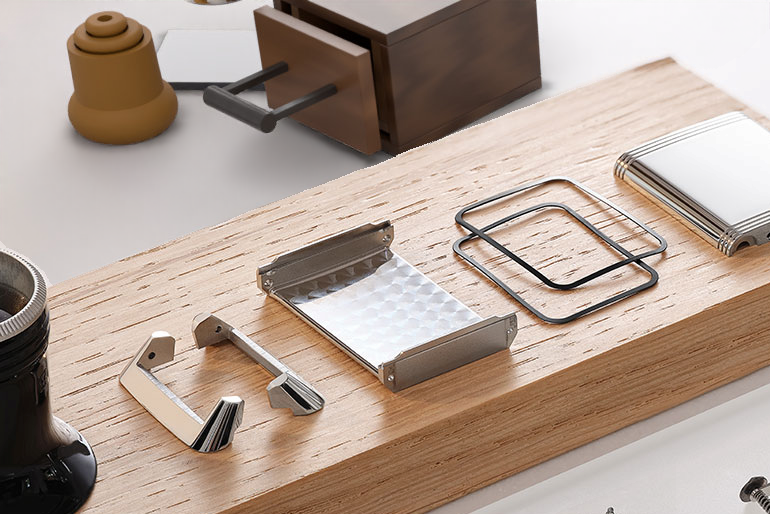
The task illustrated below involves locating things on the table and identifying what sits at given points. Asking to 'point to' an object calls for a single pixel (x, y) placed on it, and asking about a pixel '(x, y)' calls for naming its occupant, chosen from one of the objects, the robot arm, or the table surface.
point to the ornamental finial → (117, 82)
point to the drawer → (312, 80)
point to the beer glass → (211, 2)
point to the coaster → (208, 58)
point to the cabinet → (441, 59)
